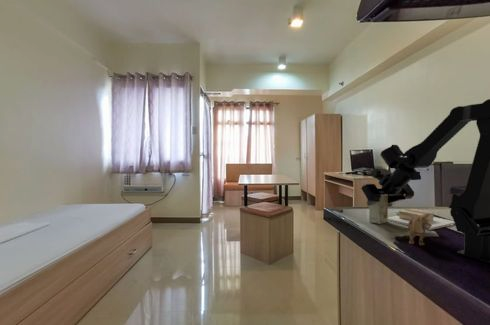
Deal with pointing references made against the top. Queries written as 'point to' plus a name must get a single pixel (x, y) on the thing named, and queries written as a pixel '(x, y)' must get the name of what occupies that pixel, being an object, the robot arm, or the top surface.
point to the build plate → (435, 223)
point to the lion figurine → (418, 228)
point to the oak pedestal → (413, 212)
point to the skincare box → (379, 210)
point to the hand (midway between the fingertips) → (376, 204)
